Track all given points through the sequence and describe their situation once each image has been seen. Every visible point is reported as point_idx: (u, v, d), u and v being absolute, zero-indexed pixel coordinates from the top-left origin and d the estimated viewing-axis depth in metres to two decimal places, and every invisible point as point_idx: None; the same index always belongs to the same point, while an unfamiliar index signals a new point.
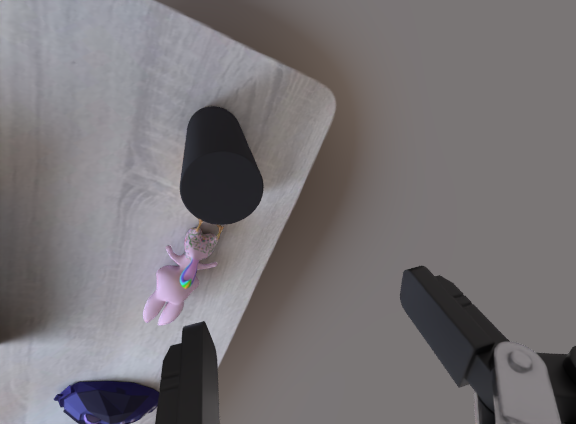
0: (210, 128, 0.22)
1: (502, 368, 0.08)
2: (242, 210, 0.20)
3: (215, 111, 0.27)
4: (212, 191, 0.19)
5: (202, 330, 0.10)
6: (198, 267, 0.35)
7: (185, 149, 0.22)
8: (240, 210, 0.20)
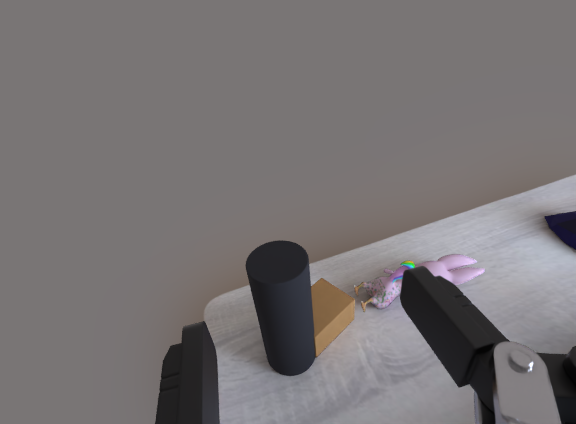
0: (264, 322, 0.26)
1: (502, 368, 0.08)
2: (282, 244, 0.26)
3: (268, 354, 0.29)
4: (282, 264, 0.24)
5: (202, 330, 0.10)
6: None
7: (291, 323, 0.25)
8: (283, 245, 0.26)
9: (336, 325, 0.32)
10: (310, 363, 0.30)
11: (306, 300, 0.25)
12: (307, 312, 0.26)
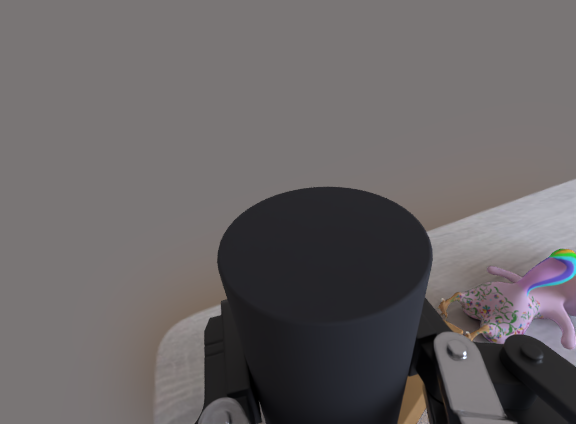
0: (277, 422, 0.09)
1: (443, 361, 0.08)
2: (327, 195, 0.09)
3: None
4: (340, 247, 0.07)
5: None
6: None
7: None
8: (330, 197, 0.09)
9: None
10: None
11: (410, 361, 0.08)
12: (403, 393, 0.09)
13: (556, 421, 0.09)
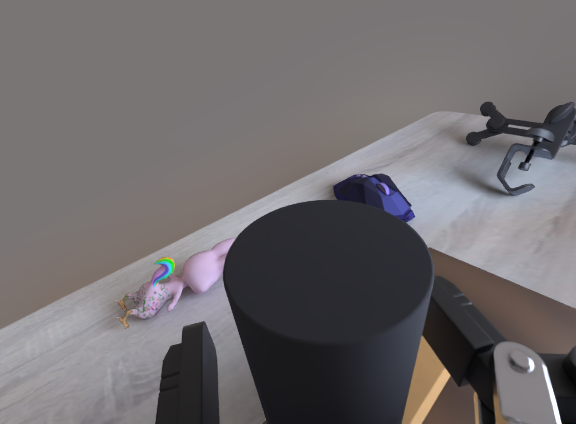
0: None
1: (502, 368, 0.08)
2: (330, 209, 0.09)
3: None
4: (343, 263, 0.07)
5: (202, 330, 0.10)
6: (172, 277, 0.33)
7: None
8: (333, 211, 0.09)
9: (431, 397, 0.14)
10: None
11: (412, 374, 0.08)
12: (405, 404, 0.09)
13: None
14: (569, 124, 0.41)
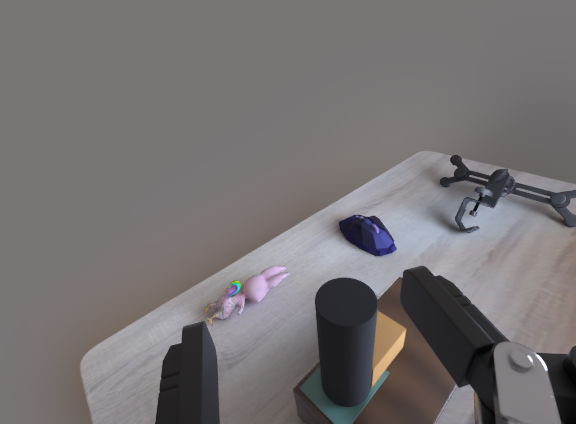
0: (330, 358, 0.27)
1: (502, 368, 0.08)
2: (346, 282, 0.27)
3: (327, 386, 0.30)
4: (352, 304, 0.25)
5: (202, 330, 0.10)
6: None
7: (358, 360, 0.26)
8: (348, 283, 0.27)
9: (389, 355, 0.32)
10: (367, 394, 0.31)
11: (373, 337, 0.26)
12: (372, 349, 0.27)
13: None
14: (504, 184, 0.59)
